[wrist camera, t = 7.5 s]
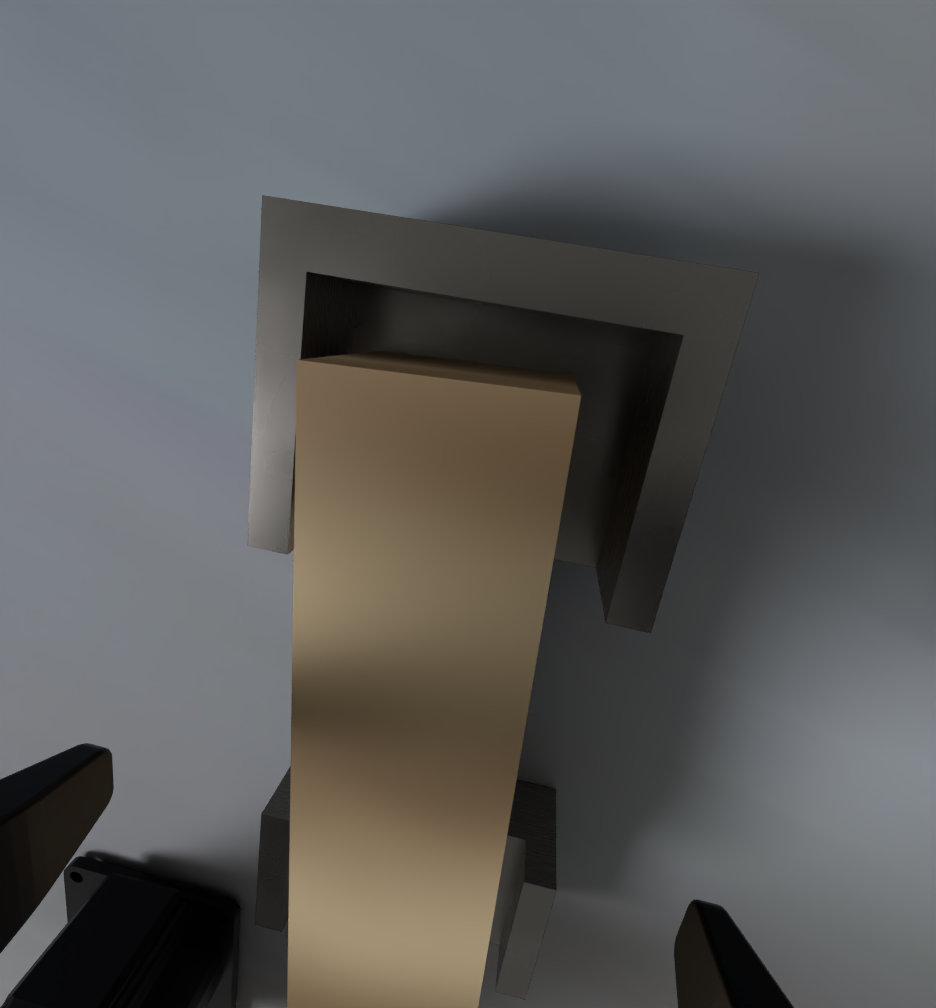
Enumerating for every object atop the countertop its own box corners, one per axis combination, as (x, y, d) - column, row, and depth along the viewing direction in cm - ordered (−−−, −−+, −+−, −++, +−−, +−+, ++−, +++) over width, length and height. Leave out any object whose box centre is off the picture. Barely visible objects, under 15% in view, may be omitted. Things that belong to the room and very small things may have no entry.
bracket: (622, 543, 14) (650, 632, 10) (335, 484, 15) (247, 545, 11) (688, 293, 12) (759, 273, 8) (357, 239, 13) (262, 195, 9)
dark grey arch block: (530, 887, 18) (524, 999, 15) (303, 828, 19) (254, 924, 16) (555, 789, 17) (556, 890, 14) (312, 730, 17) (261, 813, 14)
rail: (489, 888, 16) (468, 1066, 12) (350, 857, 16) (286, 1019, 12) (572, 374, 11) (581, 395, 8) (379, 350, 12) (296, 359, 8)
